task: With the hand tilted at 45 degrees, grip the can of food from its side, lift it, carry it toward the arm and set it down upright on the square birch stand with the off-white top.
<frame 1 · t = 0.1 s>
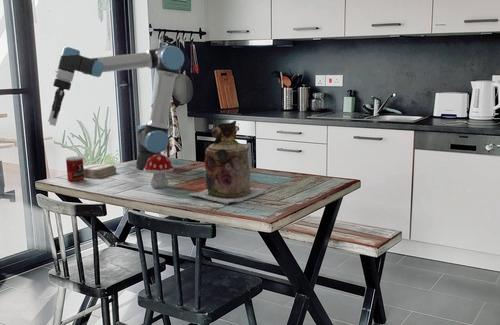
hand: (51, 123, 252), 28 cm above the table, tool tilted 20°, fingers open, 13 cm apart
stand: (96, 174, 271), on the table
canned food: (76, 180, 259), on the table
cookie jar: (228, 195, 227), on the table
decorative mushroom: (159, 187, 243), on the table
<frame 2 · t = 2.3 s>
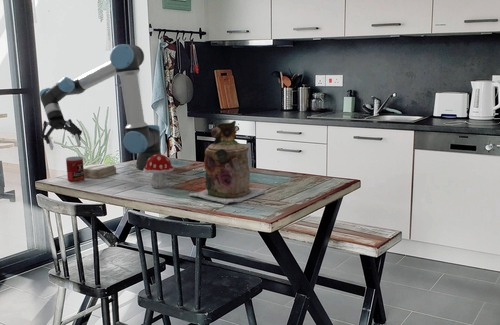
hand: (66, 147, 264), 15 cm above the table, tool tilted 45°, fingers open, 13 cm apart
nothing on the table moved.
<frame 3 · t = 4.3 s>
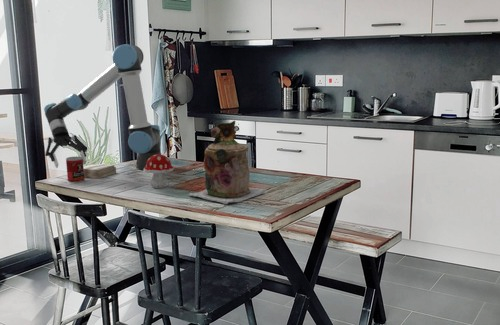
hand: (71, 164, 259), 8 cm above the table, tool tilted 45°, fingers open, 13 cm apart
nothing on the table moved.
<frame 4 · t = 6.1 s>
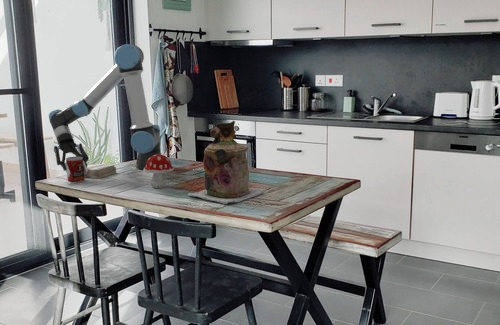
hand: (77, 173, 255), 4 cm above the table, tool tilted 45°, fingers closed on canned food, 8 cm apart
canned food: (76, 180, 259), on the table, touching gripper
everything else where it was.
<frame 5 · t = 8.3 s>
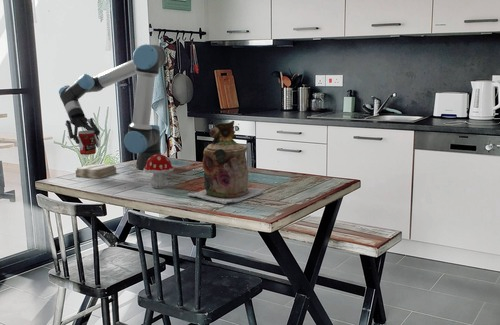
hand: (90, 147, 261), 15 cm above the table, tool tilted 45°, fingers closed on canned food, 8 cm apart
canned food: (88, 153, 265), point 11 cm above the table, touching gripper
everything else where it was.
when the fingers open (9 cm above the table, at t = 10.3 s): canned food drops 1 cm, resting on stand.
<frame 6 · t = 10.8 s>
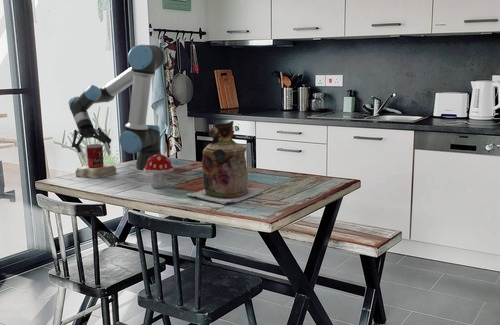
hand: (96, 155, 267), 10 cm above the table, tool tilted 45°, fingers open, 13 cm apart
canned food: (95, 167, 270), point 4 cm above the table, touching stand
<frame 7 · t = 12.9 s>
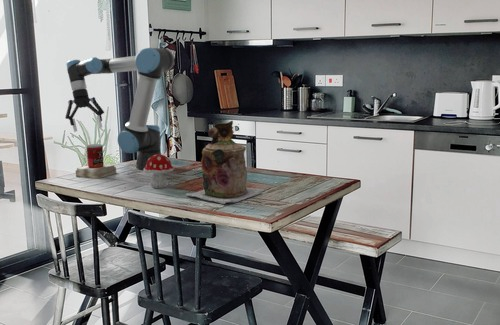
hand: (88, 129, 280), 21 cm above the table, tool tilted 15°, fingers open, 13 cm apart
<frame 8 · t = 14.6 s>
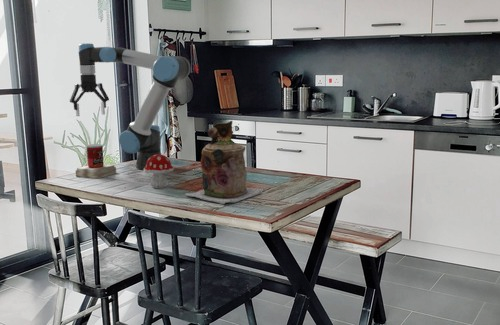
hand: (90, 115, 279), 29 cm above the table, tool pointing down, fingers open, 13 cm apart
at the end: canned food 0.1 cm from the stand (horizontally); canned food touching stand; canned food tilted 0° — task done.
